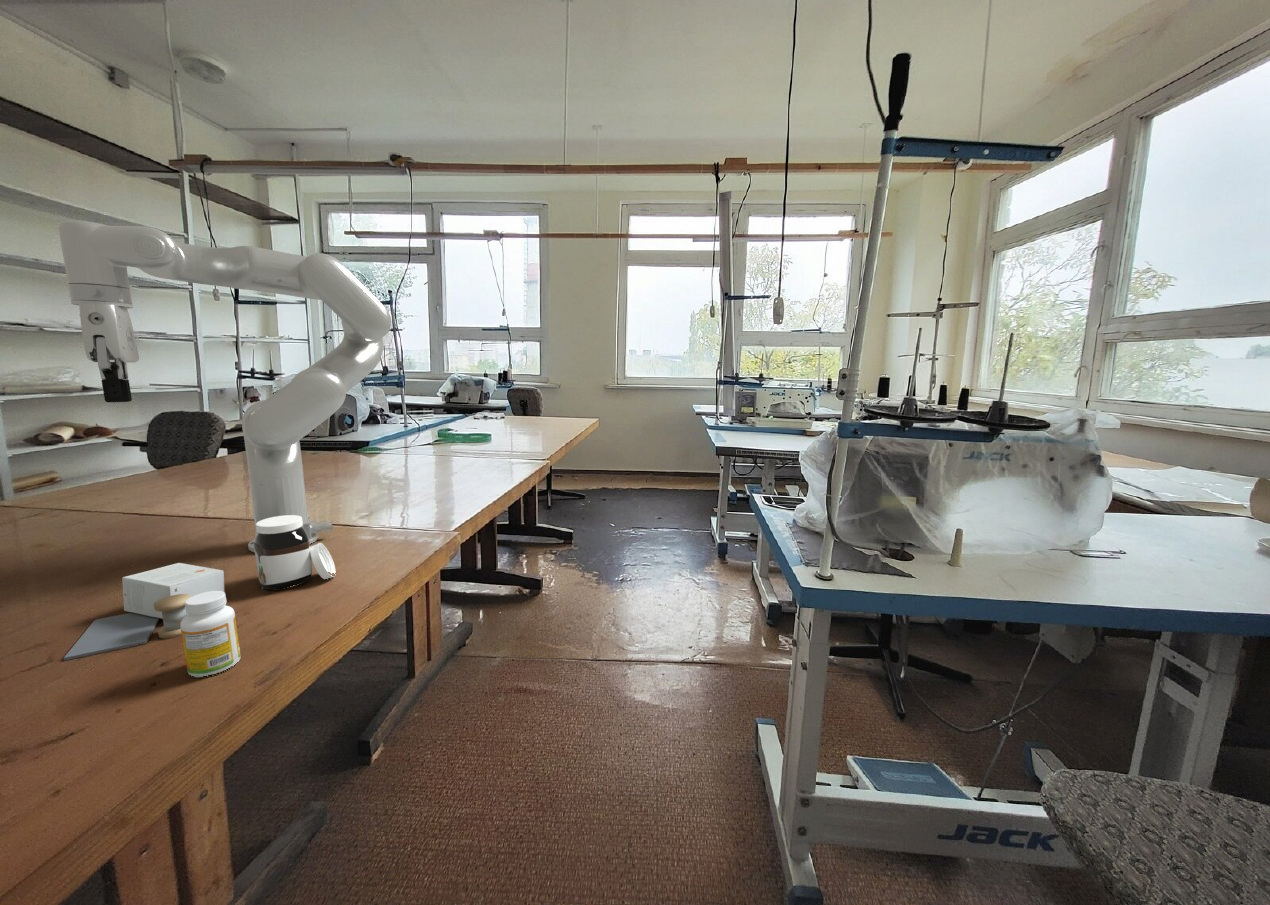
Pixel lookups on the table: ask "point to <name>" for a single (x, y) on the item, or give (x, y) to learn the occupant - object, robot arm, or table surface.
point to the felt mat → (113, 634)
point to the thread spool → (171, 614)
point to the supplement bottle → (209, 634)
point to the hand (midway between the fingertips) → (118, 401)
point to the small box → (168, 586)
